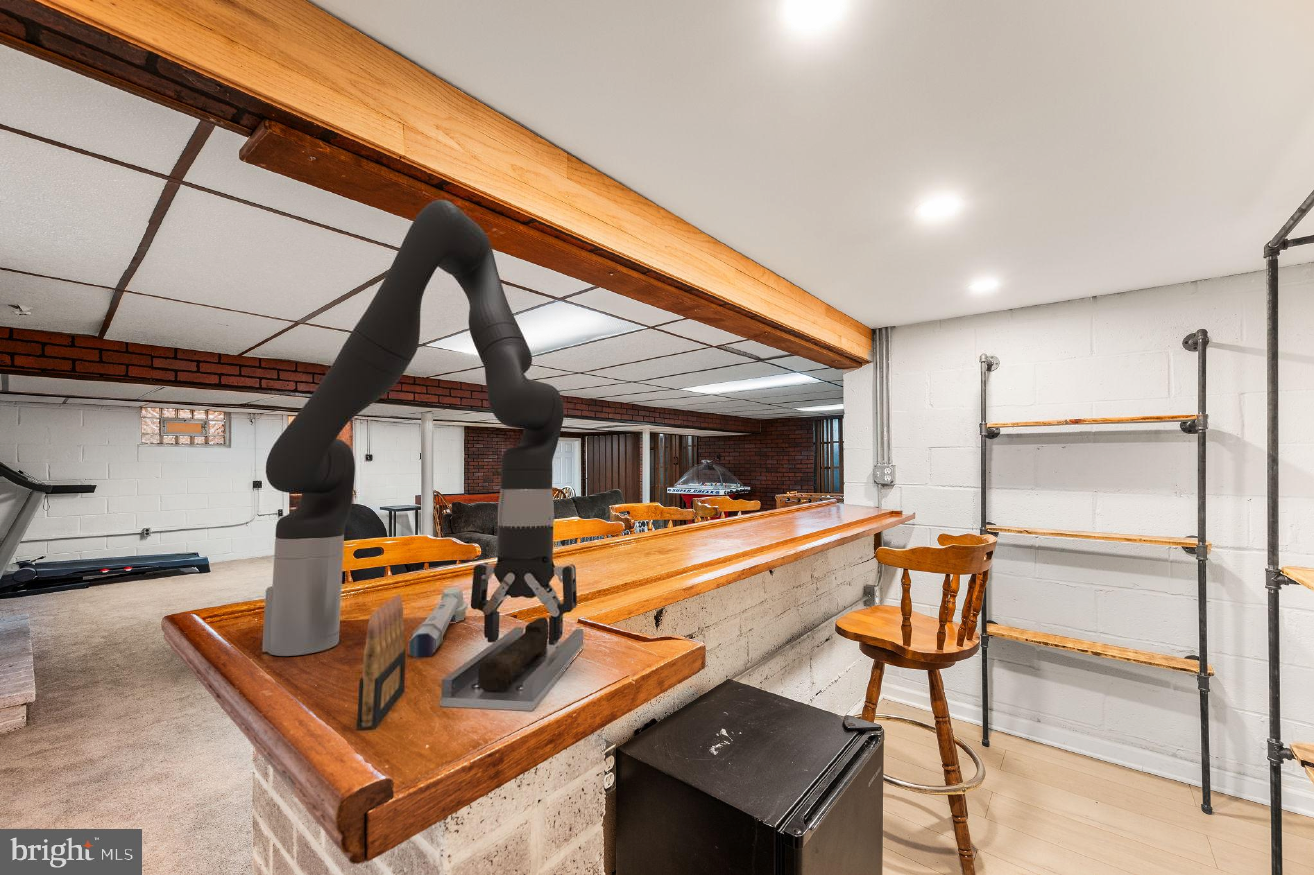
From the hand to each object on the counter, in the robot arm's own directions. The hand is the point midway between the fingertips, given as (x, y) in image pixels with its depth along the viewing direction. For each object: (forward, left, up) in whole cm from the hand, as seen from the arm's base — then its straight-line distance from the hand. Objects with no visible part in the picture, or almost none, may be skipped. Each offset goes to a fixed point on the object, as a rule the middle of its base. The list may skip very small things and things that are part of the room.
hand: (523, 642), depth 73 cm
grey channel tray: (0, 0, -4) cm, 4 cm away
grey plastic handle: (-21, +17, -5) cm, 27 cm away
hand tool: (0, 0, -3) cm, 3 cm away
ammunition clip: (-12, -13, -4) cm, 18 cm away
